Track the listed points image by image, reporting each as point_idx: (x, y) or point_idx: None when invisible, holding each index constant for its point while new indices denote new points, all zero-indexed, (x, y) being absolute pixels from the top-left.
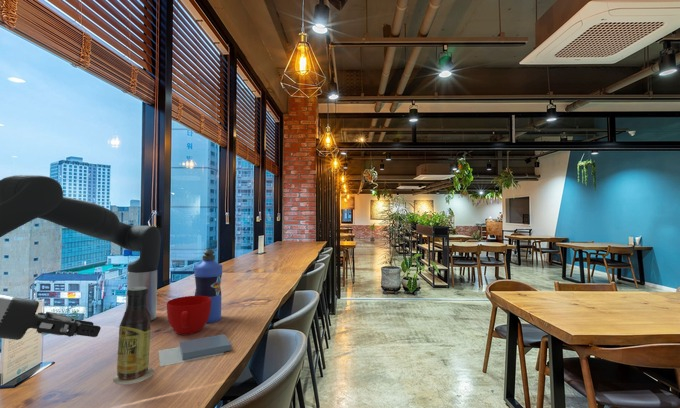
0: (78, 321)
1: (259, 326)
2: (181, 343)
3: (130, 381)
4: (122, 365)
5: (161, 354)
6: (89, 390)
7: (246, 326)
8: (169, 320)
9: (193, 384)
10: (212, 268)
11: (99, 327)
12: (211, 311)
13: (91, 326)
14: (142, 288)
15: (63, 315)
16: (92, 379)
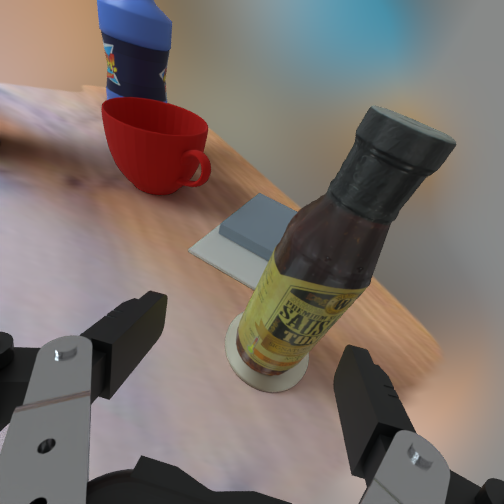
0: (124, 337)
1: (248, 165)
2: (232, 228)
3: (295, 368)
4: (296, 359)
5: (214, 260)
6: (246, 452)
7: (231, 165)
8: (136, 167)
9: (377, 319)
10: (166, 23)
11: (364, 352)
12: None
13: (379, 382)
14: (426, 125)
15: (87, 428)
16: (180, 407)
